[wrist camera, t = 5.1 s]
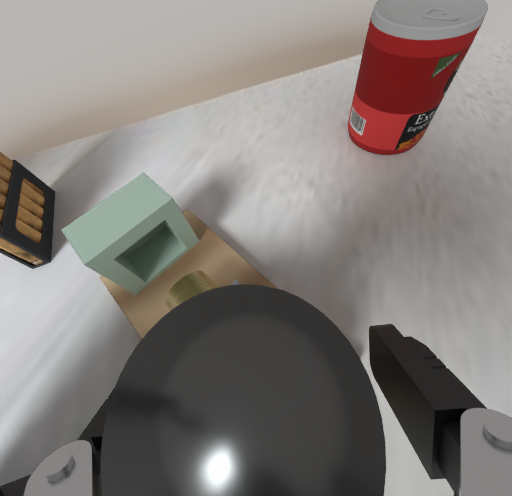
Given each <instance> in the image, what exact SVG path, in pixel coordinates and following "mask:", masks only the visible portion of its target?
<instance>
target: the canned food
mask: <svg viewBox="0 0 512 496" xmlns="http://www.w3.org/2000/svg"><path fill="white" fill-rule="evenodd" d="M487 10H488V5H487V3H486V2H485V0H378V1H377V3H376V4H375V6H374V9H373V12H372V15H371V19H370V23H369V28H368V32H367V36H366V41H365V45H364V50H363V55H362V60H361V64H360V69H359V74H358V78H357V83H356V88H355V93H354V97H353V102H352V107H351V112H350V116H349V121H348V131H349V136H350V138H351V140H352V141H353V142H354V143H355V144H356V145H357V146H359V147H360V148H362V149H364V150H366V151H368V152H372V153H376V154H383V155H391V154H398V153H402V152H405V151H407V150H409V149H411V148H412V147H413V146H414V145H415V144H416V143H417V142H418V141H419V140H420V139H421V138H422V136H423V134H424V133H425V131H426V129H427V127H428V125H429V123H430V121H431V119H432V118H433V116H434V114H435V112H436V110H437V108H438V106H439V104H440V102H441V101H442V99H443V97H444V95H445V93H446V91H447V89H448V87H449V86H450V84H451V82H452V80H453V78H454V76H455V74H456V72H457V70H458V69H459V67H460V65H461V63H462V61H463V59H464V57H465V55H466V54H467V52H468V50H469V48H470V46H471V44H472V42H473V40H474V38H475V36H476V34H477V32H478V30H479V28H480V26H481V24H482V22H483V20H484V17H485V15H486V13H487Z"/></svg>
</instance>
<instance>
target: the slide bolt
mask: <svg viewBox="0 0 512 496" xmlns="http://www.w3.org/2000/svg"><path fill="white" fill-rule="evenodd" d="M166 305H167V306H168V307H169V309H170V310H171V311H170V312H168V313H167V314H166V315H165V316H163V317H162V318H161V319H160V320H159V321H158V322H157V323H156V324H155V325H154V326H153V327H152V328H151V329H150V330H149V331H148V333H147V334H146V335H145V336H144V338H143V339H142V340H141V341H140V343H139V344H138V345H137V347H136V348H135V350H134V351H133V353H132V355H131V356H130V358H129V359H128V361H127V363H126V365H125V367H124V369H123V371H122V373H121V375H120V377H119V379H118V382H117V384H116V387H115V389H114V392H113V394H112V398H111V401H110V404H109V408H108V411H107V415H106V420H105V425H104V430H103V437H102V447H101V488H102V496H384V485H385V474H386V454H385V438H384V431H383V424H382V418H381V414H380V410H379V406H378V402H377V398H376V395H375V392H374V389H373V387H372V384H371V381H370V379H369V376H368V374H367V372H366V370H365V368H364V366H363V364H362V362H361V360H360V358H359V356H358V355H357V353H356V352H355V350H354V349H353V347H352V345H351V344H350V342H349V341H348V340H347V338H346V337H345V336H344V335H343V334H342V332H341V331H340V330H339V329H338V328H337V326H336V325H335V324H334V323H333V322H331V321H330V320H329V319H328V318H327V317H326V316H325V315H324V314H323V313H322V312H320V311H319V310H318V309H316V308H315V307H314V306H312V305H311V304H309V303H308V302H306V301H304V300H302V299H301V298H299V297H297V296H295V295H292V294H290V293H288V292H285V291H283V290H279V289H276V288H272V287H268V286H262V285H255V284H238V285H228V286H223V287H219V286H218V285H217V284H216V283H215V282H214V281H213V280H212V279H211V278H210V277H209V276H208V275H207V274H206V273H205V272H203V271H194V272H191V273H189V274H187V275H185V276H184V277H182V278H181V279H180V280H178V281H177V282H176V283H175V284H174V285H173V287H172V288H171V289H170V291H169V292H168V294H167V297H166Z"/></svg>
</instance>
